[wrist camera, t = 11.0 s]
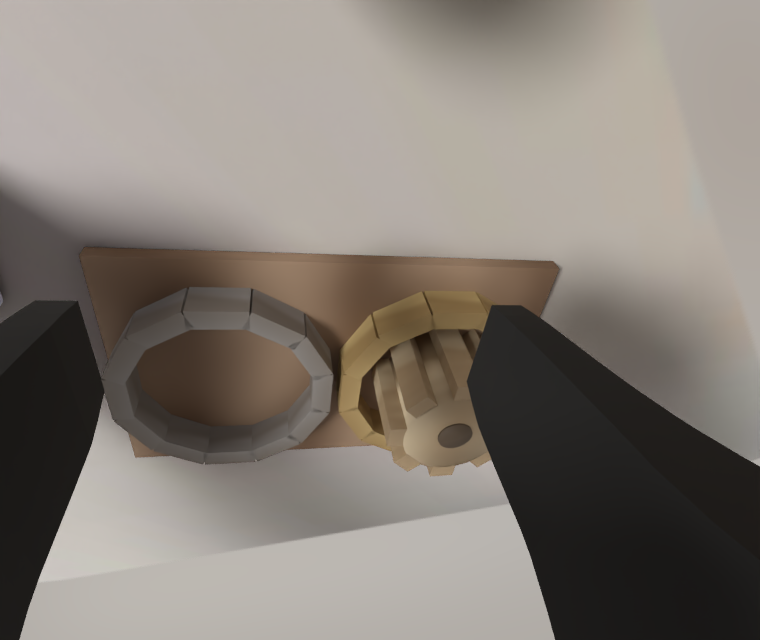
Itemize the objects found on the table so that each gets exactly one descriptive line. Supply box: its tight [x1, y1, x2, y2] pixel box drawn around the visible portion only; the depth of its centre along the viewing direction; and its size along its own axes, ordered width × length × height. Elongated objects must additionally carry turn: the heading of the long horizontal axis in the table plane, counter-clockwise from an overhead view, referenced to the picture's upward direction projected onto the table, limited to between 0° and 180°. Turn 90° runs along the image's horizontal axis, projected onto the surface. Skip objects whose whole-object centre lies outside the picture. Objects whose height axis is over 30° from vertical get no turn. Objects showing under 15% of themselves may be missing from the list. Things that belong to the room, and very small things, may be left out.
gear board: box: [79, 247, 559, 464], centre depth 21 cm, size 18×11×2 cm, turn 83°
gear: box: [372, 329, 491, 476], centre depth 21 cm, size 5×5×4 cm
